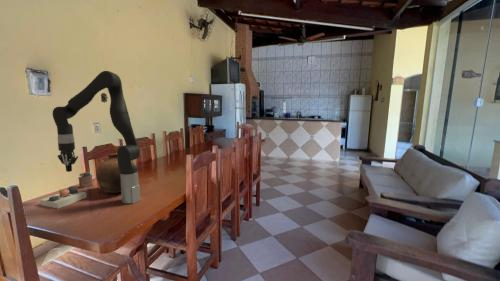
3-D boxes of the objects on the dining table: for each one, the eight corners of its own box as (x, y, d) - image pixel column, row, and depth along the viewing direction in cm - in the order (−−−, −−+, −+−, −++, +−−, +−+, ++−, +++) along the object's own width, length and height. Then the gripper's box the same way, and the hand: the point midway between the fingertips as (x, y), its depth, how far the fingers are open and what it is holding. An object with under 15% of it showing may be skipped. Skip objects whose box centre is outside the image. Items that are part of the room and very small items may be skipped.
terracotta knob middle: (70, 194, 140) (69, 189, 140) (63, 197, 136) (62, 191, 136) (65, 193, 141) (64, 188, 141) (57, 196, 137) (57, 190, 137)
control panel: (86, 197, 145) (86, 192, 145) (57, 208, 130) (57, 203, 129) (70, 194, 149) (70, 189, 148) (40, 204, 133) (40, 199, 133)
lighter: (91, 184, 167) (90, 170, 165) (93, 185, 165) (92, 171, 163) (78, 188, 160) (77, 173, 158) (80, 189, 158) (79, 174, 157)
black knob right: (79, 191, 145) (78, 186, 145) (72, 193, 141) (72, 188, 141) (74, 190, 146) (73, 185, 146) (67, 192, 143) (67, 187, 142)
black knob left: (60, 201, 135) (60, 196, 135) (53, 204, 131) (52, 199, 131) (55, 200, 136) (55, 195, 136) (47, 203, 133) (47, 198, 132)
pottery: (121, 199, 144) (119, 158, 140) (88, 195, 148) (85, 155, 145) (145, 186, 166) (143, 151, 162) (115, 183, 170) (113, 148, 167)
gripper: (81, 141, 139) (84, 170, 142) (64, 140, 143) (66, 168, 145) (68, 143, 132) (71, 174, 135) (50, 142, 136) (53, 172, 138)
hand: (69, 171), depth 140 cm, fingers closed
